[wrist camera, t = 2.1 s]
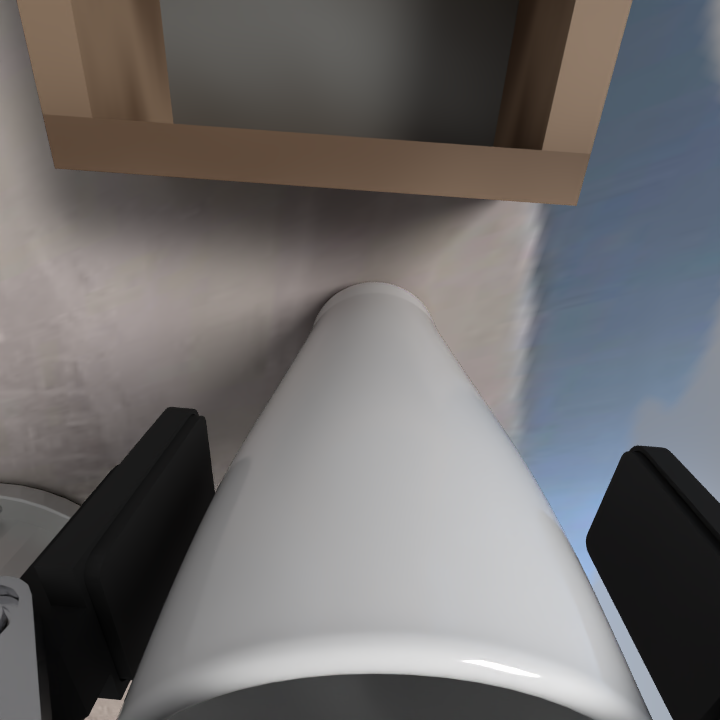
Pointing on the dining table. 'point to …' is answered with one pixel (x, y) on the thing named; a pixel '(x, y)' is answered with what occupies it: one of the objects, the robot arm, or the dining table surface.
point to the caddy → (330, 91)
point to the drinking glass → (380, 554)
